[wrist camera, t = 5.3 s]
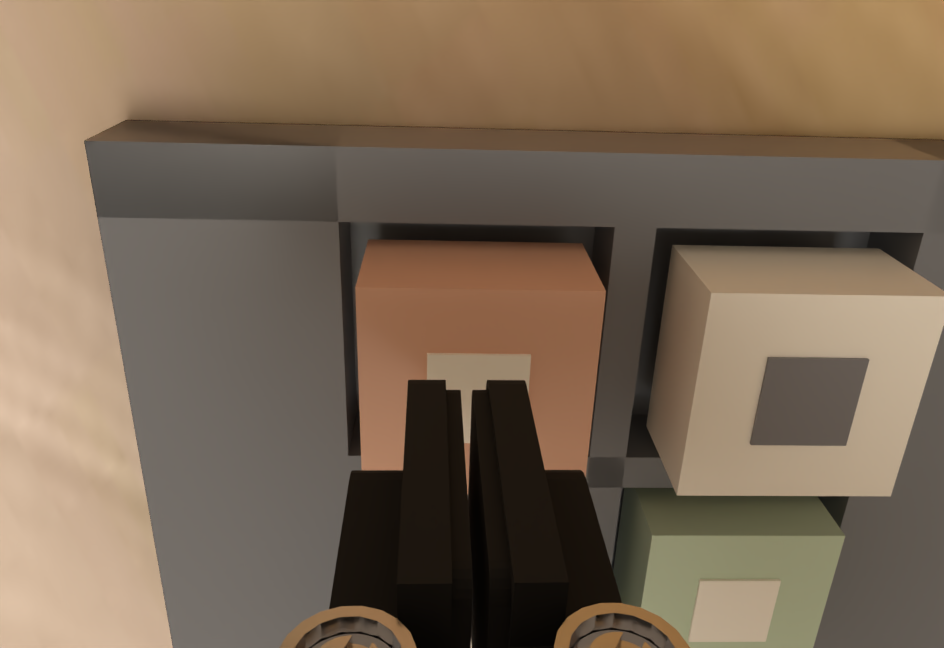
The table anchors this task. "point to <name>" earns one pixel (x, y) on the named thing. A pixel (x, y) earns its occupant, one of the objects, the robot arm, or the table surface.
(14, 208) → the table surface
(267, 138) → the keypad frame
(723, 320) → the key ivory
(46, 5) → the table surface
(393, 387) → the key terracotta
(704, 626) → the key sage
